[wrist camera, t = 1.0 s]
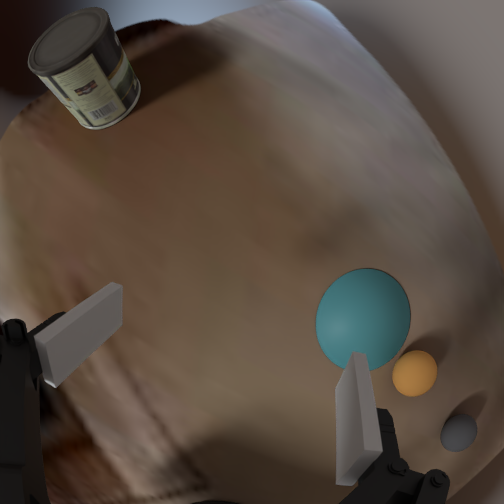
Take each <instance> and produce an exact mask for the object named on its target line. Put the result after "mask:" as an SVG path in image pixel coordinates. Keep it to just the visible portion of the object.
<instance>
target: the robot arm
mask: <svg viewBox="0 0 504 504" xmlns="http://www.w3.org/2000/svg"><path fill="white" fill-rule="evenodd" d="M122 291H123V286H122V285H119V284H117V283H114V282H111V283H110V284H108V285H107V286H105V287H104V288H102V289H101V290H99V291H98V292H96V293H95V294H93V295H92V296H90V297H89V298H87V299H86V300H84V301H83V302H82V303H80V304H79V305H77V306H76V307H74V308H73V309H71V310H70V311H69V312H67V313H66V312H64V311H63V312H60V313H57V314H54V315H53V316H51V317H50V318H48V320H46V321H44V322H43V323H41V324H40V325H38V326H37V327H36V328H34V329H33V330H31V331H30V332H28V333H27V328H26V324H25V322H24V321H22V320H20V319H10V320H7V321H6V322H4V323H3V325H2V326H1V327H2V331H3V335H4V336H1V335H0V504H51V503H50V500H49V497H48V493H47V488H46V481H45V474H44V467H43V458H42V448H41V435H40V415H39V378H38V376H39V375H40V374H41V373H43V376H44V380H45V381H46V382H47V383H49V384H50V385H52V386H53V387H55V388H56V387H57V386H58V385H59V384H61V383H62V382H63V381H64V380H65V379H66V378H67V377H68V376H69V375H70V374H71V373H72V372H73V371H74V370H75V369H76V368H77V367H78V366H79V365H80V364H81V363H82V362H83V361H85V360H86V359H87V358H88V357H89V356H90V355H91V354H92V353H93V352H94V351H95V350H96V349H97V348H98V347H99V346H100V345H102V344H103V343H104V342H105V341H106V340H107V339H108V338H109V337H110V336H111V335H112V334H113V333H114V332H116V331H117V330H118V329H119V328H120V327H121V326H122ZM335 397H336V485H345V486H353V485H354V484H355V483H356V482H357V481H358V486H357V487H356V488H355V489H354V490H353V491H352V492H351V493H350V494H349V495H348V496H347V497H346V498H344V499H343V500H342V501H341V502H340V503H339V504H445V501H446V498H447V494H448V490H449V486H450V480H449V478H448V476H447V475H446V473H445V472H443V471H441V470H438V469H433V470H430V471H429V472H427V473H426V474H422V473H418V472H415V471H412V470H410V469H409V466H408V464H407V462H406V461H405V460H403V459H402V458H400V455H399V449H398V443H397V438H396V434H395V428H394V423H393V418H392V416H391V415H390V413H389V412H388V410H387V409H380V408H376V404H375V398H374V392H373V387H372V382H371V376H370V371H369V366H368V361H367V357H366V354H364V353H359V352H354V351H353V352H352V354H351V356H350V359H349V361H348V363H347V365H346V367H345V369H344V372H343V374H342V376H341V378H340V380H339V382H338V384H337V386H336V388H335ZM194 504H237V503H232V502H224V501H206V502H198V503H194Z"/></svg>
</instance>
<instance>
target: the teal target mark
mask: <svg viewBox="0 0 504 504" xmlns="http://www.w3.org/2000/svg"><path fill="white" fill-rule="evenodd" d="M409 326H410V307H409V303H408V300H407V297H406V294H405V292H404V290H403V289H402V287H401V286H400V285H399V284H398V282H397V281H396V280H395V279H393V278H392V277H391V276H389V275H388V274H386V273H384V272H382V271H378V270H375V269H359V270H355V271H351V272H349V273H347V274H345V275H343V276H341V277H340V278H338V279H337V280H336V281H335V282H334V283H333V284H332V285H331V286H330V287H329V288H328V289H327V291H326V292H325V294H324V296H323V297H322V299H321V302H320V304H319V307H318V311H317V316H316V333H317V338H318V341H319V344H320V346H321V348H322V350H323V352H324V353H325V354H326V356H327V357H328V358H329V359H330V360H331V361H332V362H333V363H335V364H336V365H337V366H339V367H341V368H343V369H345V367H346V365H347V363H348V361H349V359H350V356H351V354H352V352H353V351H354V352H359V353H364V354H366V357H367V361H368V366H369V371H370V370H374V369H376V368H379V367H381V366H382V365H384V364H386V363H387V362H388V361H390V360H391V359H392V358H393V357H394V356H395V355H396V354H397V353H398V351H399V350H400V348H401V347H402V345H403V343H404V341H405V339H406V337H407V334H408V330H409Z"/></svg>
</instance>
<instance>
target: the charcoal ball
mask: <svg viewBox="0 0 504 504" xmlns="http://www.w3.org/2000/svg"><path fill="white" fill-rule="evenodd" d="M476 435H477V424H476V422H475V420H474V419H473V418H472V417H471V416H469V415H466V414H460V415H456V416H454V417H452V418H451V419H449V420H448V421H447V422H446V423H445V425H444V426H443V429H442V431H441V442H442V445H443V446H444V447H445V448H446V449H447V450H449V451H452V452H459V451H462V450H464V449H466V448H468V447H469V446H470V445H471V444H472V443H473V441H474V439H475V437H476Z"/></svg>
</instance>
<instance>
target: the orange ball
mask: <svg viewBox="0 0 504 504" xmlns="http://www.w3.org/2000/svg"><path fill="white" fill-rule="evenodd" d="M436 377H437V365H436V362H435V360H434V359H433V357H432V356H431V355H430V354H428V353H427V352H424V351H420V350H414V351H410V352H407V353H406V354H404V355H403V356H401V357H400V358H399V359H398V361H397V362H396V364H395V366H394V369H393V374H392V378H393V383H394V385H395V387H396V389H397V390H398V391H399V392H400V393H402V394H404V395H406V396H411V397H413V396H419V395H422V394H424V393H425V392H427V391H428V390H429V389H430V388H431V387H432V386H433V384H434V382H435V380H436Z"/></svg>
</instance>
